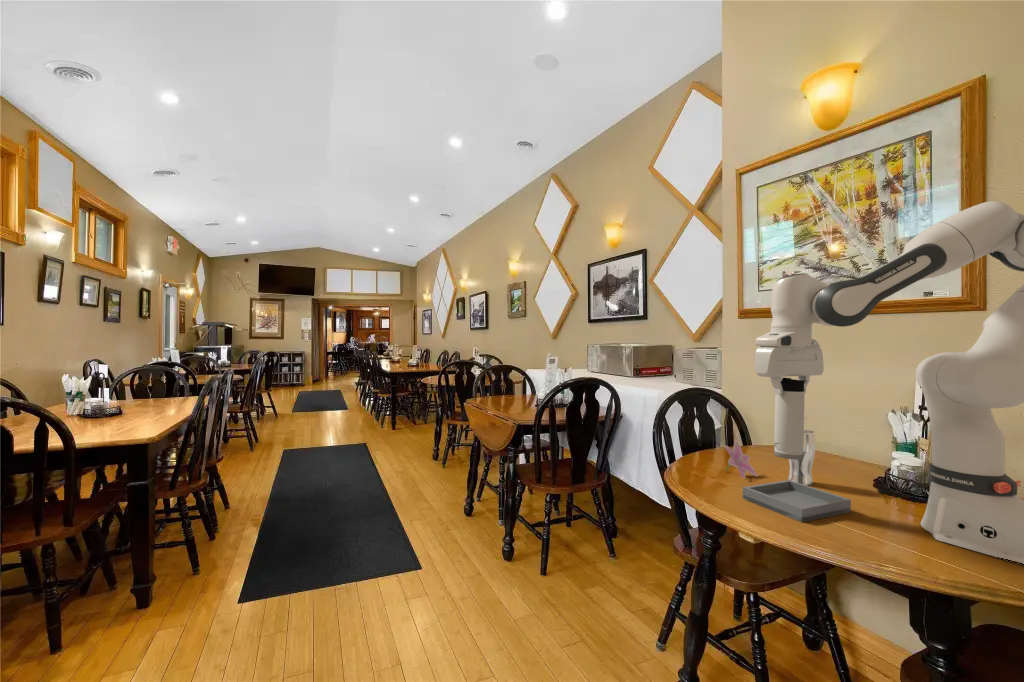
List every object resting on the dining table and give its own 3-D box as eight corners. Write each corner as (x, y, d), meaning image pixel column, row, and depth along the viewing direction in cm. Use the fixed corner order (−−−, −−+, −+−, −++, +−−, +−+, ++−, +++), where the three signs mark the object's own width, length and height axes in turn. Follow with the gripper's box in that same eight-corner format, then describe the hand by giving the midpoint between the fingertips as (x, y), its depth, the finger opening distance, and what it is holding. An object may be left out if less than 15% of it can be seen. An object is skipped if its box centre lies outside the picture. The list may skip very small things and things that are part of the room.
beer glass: (820, 486, 128) (821, 433, 128) (795, 486, 128) (796, 433, 128) (804, 478, 135) (805, 428, 135) (781, 478, 135) (781, 428, 135)
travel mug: (770, 456, 114) (772, 377, 114) (778, 451, 119) (779, 375, 118) (799, 461, 110) (801, 379, 109) (805, 456, 114) (807, 377, 114)
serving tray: (850, 512, 110) (850, 499, 109) (801, 522, 103) (801, 509, 103) (788, 490, 124) (788, 479, 124) (742, 498, 118) (742, 487, 118)
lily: (720, 483, 134) (738, 458, 131) (703, 457, 145) (719, 434, 141) (754, 493, 136) (772, 469, 133) (734, 467, 147) (751, 444, 144)
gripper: (807, 339, 121) (806, 391, 121) (750, 338, 113) (749, 394, 113) (831, 339, 115) (830, 393, 115) (773, 339, 107) (772, 397, 107)
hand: (790, 394), depth 114 cm, fingers closed on travel mug, 6 cm apart
